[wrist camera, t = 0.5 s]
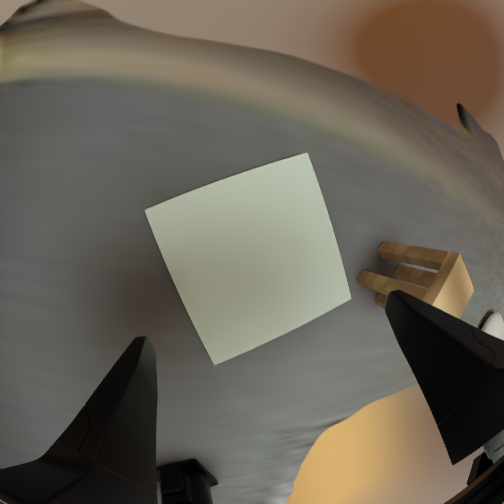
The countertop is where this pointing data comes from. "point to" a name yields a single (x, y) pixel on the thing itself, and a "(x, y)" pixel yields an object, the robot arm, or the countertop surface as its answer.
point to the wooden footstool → (423, 277)
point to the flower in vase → (494, 326)
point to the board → (252, 255)
